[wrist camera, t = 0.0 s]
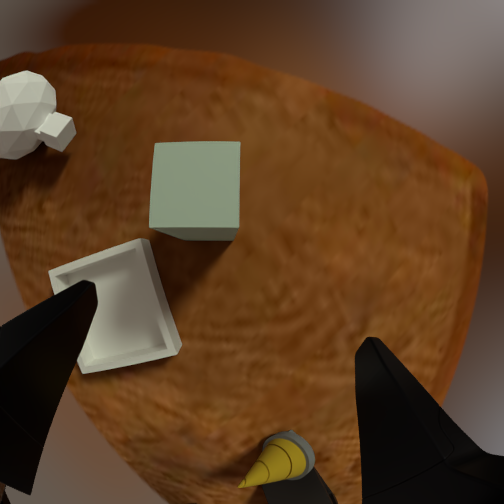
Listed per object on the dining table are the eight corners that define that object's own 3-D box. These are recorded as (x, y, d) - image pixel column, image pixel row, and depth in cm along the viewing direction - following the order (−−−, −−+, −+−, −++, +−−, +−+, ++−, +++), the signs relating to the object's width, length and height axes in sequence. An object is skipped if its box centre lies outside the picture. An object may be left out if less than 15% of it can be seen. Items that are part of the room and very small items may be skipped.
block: (233, 240, 23) (239, 227, 12) (184, 240, 23) (149, 227, 12) (233, 192, 23) (240, 141, 12) (186, 192, 23) (155, 143, 12)
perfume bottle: (-14, 160, 19) (52, 196, 22) (-47, 113, 11) (19, 142, 13) (29, 103, 22) (99, 128, 25) (12, 49, 14) (90, 64, 16)
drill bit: (293, 465, 24) (227, 507, 17) (278, 425, 26) (207, 459, 19) (335, 460, 21) (273, 514, 14) (319, 417, 23) (250, 461, 16)
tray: (182, 344, 23) (177, 354, 20) (94, 364, 22) (82, 373, 19) (149, 239, 23) (140, 238, 20) (63, 269, 22) (48, 271, 19)
